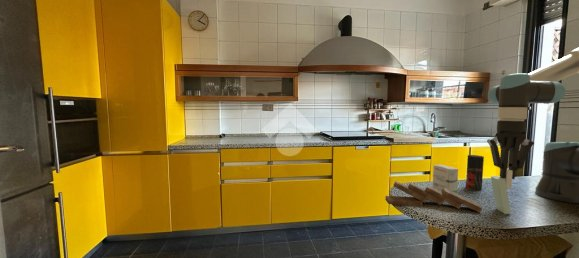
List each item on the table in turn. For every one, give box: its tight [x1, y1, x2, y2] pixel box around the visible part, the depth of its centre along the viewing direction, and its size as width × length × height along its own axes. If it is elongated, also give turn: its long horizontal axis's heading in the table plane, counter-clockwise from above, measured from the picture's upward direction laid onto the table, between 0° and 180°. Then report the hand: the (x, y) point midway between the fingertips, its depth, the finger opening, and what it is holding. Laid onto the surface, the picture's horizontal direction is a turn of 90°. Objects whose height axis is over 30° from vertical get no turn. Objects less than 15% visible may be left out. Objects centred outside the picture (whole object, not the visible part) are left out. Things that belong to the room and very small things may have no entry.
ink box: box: [432, 164, 459, 194], centre depth 108 cm, size 9×5×12 cm, turn 12°
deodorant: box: [465, 154, 485, 192], centre depth 116 cm, size 6×6×15 cm
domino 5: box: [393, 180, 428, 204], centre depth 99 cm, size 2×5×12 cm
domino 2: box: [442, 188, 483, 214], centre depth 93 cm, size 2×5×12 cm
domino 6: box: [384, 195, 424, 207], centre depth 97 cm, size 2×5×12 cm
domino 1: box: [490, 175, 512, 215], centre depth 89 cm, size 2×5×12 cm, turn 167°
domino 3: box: [424, 184, 463, 210], centre depth 96 cm, size 2×5×12 cm
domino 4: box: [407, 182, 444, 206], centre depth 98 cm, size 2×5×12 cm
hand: (506, 187), depth 89 cm, fingers closed
